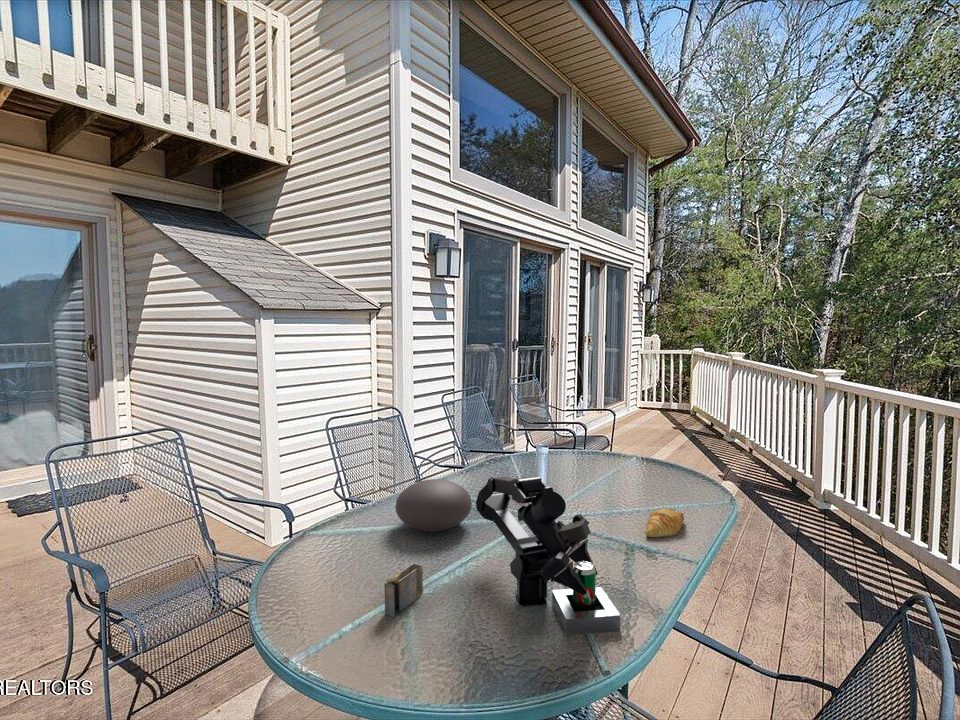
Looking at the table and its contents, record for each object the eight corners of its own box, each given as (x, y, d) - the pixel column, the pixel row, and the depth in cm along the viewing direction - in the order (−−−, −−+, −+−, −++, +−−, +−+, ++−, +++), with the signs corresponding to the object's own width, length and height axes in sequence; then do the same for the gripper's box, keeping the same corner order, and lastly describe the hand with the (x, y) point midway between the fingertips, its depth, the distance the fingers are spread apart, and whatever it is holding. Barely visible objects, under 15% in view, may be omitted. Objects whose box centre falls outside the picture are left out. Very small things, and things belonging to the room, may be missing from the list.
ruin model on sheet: (395, 619, 118) (394, 577, 117) (385, 615, 120) (384, 574, 119) (424, 595, 128) (423, 557, 127) (414, 592, 129) (413, 554, 129)
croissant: (654, 553, 157) (666, 534, 154) (629, 529, 163) (639, 511, 160) (688, 532, 171) (699, 514, 168) (663, 511, 177) (673, 493, 174)
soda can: (579, 607, 121) (579, 558, 120) (599, 615, 118) (599, 564, 117) (568, 617, 117) (568, 566, 116) (588, 625, 114) (589, 573, 113)
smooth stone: (487, 525, 170) (487, 480, 169) (430, 550, 152) (429, 500, 151) (437, 507, 187) (436, 466, 186) (380, 527, 169) (379, 483, 167)
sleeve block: (566, 634, 111) (566, 619, 111) (552, 604, 123) (552, 590, 123) (620, 630, 112) (620, 615, 112) (601, 600, 124) (601, 586, 124)
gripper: (555, 522, 109) (607, 584, 105) (579, 494, 126) (625, 547, 122) (520, 551, 113) (569, 612, 109) (548, 521, 130) (591, 573, 126)
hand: (591, 584), depth 116 cm, fingers open, 9 cm apart
